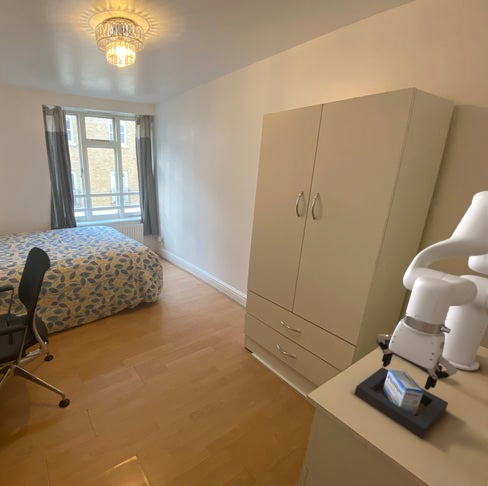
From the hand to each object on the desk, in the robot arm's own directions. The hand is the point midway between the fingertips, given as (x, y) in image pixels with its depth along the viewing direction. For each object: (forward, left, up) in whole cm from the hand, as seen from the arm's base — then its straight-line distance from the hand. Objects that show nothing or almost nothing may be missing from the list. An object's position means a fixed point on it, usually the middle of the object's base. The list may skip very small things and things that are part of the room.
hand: (405, 375), depth 78 cm
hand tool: (-24, -7, -10) cm, 27 cm away
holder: (0, 0, -10) cm, 10 cm away
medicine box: (0, 0, -10) cm, 10 cm away
